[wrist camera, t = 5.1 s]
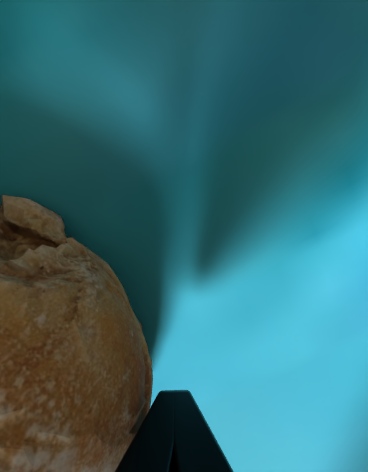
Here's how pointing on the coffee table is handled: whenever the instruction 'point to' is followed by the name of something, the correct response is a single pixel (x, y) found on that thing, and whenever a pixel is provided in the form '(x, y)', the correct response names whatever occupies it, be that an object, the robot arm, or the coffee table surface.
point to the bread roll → (64, 350)
